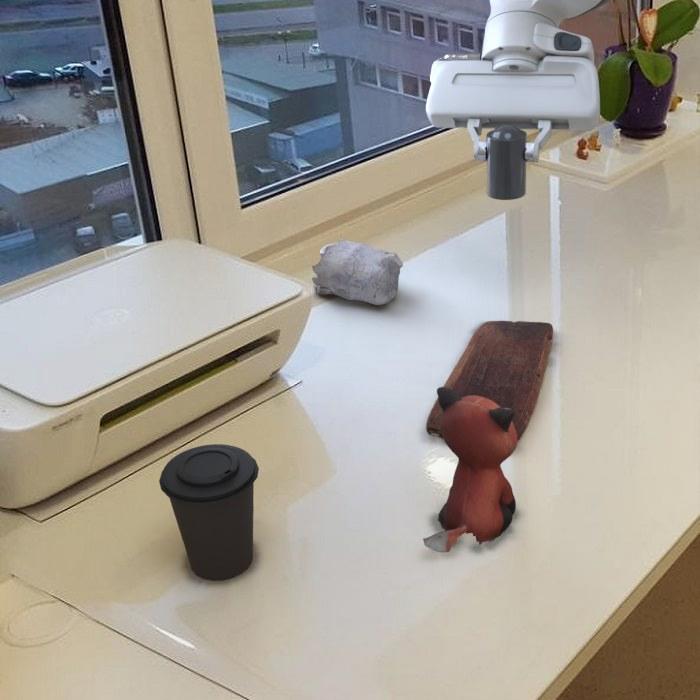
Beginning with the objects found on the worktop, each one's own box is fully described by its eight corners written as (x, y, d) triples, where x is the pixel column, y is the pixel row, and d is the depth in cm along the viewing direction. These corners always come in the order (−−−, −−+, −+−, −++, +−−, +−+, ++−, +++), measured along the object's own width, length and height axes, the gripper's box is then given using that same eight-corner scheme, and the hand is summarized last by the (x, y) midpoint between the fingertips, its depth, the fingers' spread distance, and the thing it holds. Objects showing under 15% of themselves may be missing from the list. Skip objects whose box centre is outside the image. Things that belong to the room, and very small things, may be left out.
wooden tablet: (481, 310, 127) (565, 309, 123) (483, 326, 128) (567, 326, 124) (418, 428, 105) (518, 431, 101) (421, 447, 106) (520, 451, 102)
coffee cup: (255, 595, 87) (242, 494, 82) (160, 588, 88) (142, 489, 83) (278, 533, 94) (268, 437, 89) (190, 527, 95) (175, 432, 90)
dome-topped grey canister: (522, 185, 128) (523, 118, 124) (529, 198, 124) (530, 129, 120) (484, 188, 128) (483, 121, 124) (489, 201, 124) (489, 132, 120)
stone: (387, 315, 130) (385, 263, 127) (304, 299, 136) (300, 249, 132) (416, 290, 136) (415, 240, 133) (336, 276, 142) (332, 227, 138)
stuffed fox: (395, 552, 90) (389, 433, 85) (453, 483, 99) (452, 370, 93) (476, 579, 87) (475, 456, 81) (530, 505, 95) (533, 389, 89)
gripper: (429, 39, 127) (413, 144, 123) (605, 39, 121) (593, 149, 118) (437, 67, 133) (423, 168, 129) (606, 68, 127) (595, 174, 123)
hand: (505, 159), depth 123 cm, fingers closed on dome-topped grey canister, 4 cm apart
